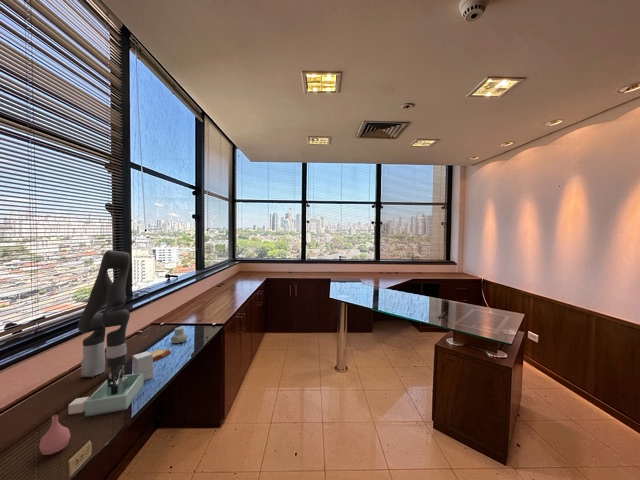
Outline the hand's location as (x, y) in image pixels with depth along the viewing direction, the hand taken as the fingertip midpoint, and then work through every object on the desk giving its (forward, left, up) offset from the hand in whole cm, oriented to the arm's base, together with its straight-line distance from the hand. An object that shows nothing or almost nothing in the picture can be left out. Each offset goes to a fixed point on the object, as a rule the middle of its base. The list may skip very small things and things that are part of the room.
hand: (117, 390), depth 124 cm
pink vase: (-7, -31, -4) cm, 32 cm away
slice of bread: (+3, +45, -5) cm, 46 cm away
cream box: (-13, -4, -4) cm, 14 cm away
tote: (0, 0, -4) cm, 4 cm away
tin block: (0, 0, -1) cm, 1 cm away
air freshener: (+12, +71, -4) cm, 72 cm away
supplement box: (+5, +18, -4) cm, 19 cm away
